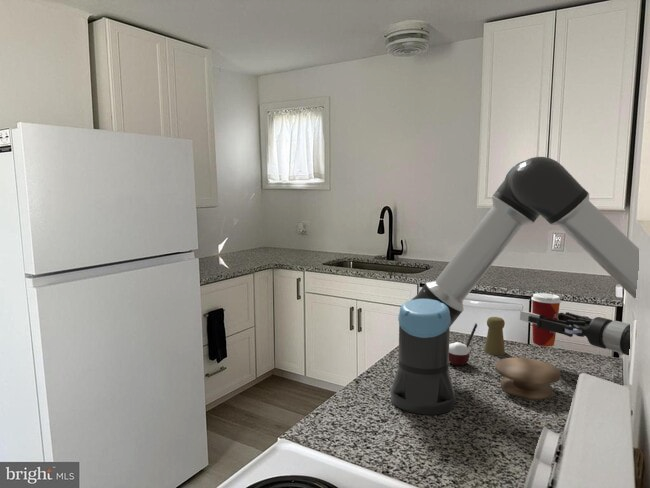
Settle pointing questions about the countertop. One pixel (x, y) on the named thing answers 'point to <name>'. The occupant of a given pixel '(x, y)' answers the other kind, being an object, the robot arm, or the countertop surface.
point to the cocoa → (460, 351)
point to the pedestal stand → (527, 377)
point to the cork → (495, 336)
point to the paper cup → (548, 309)
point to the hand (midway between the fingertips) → (529, 313)
